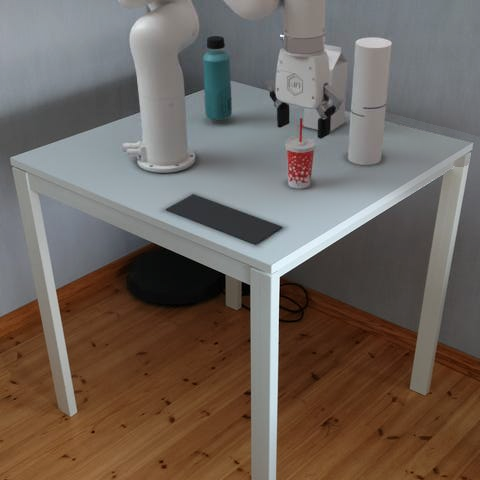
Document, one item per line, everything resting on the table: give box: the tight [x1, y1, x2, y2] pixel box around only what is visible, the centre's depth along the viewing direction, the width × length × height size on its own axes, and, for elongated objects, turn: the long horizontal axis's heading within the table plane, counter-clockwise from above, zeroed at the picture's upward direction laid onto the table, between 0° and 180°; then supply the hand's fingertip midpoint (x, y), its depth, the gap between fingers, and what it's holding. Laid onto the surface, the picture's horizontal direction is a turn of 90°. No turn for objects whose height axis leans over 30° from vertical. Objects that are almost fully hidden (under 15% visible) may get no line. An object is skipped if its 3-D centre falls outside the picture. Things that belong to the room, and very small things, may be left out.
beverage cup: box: [284, 117, 317, 190], centre depth 159 cm, size 6×6×14 cm
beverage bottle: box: [202, 35, 233, 121], centre depth 186 cm, size 6×7×20 cm
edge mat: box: [165, 193, 283, 246], centre depth 150 cm, size 22×8×1 cm, turn 51°
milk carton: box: [302, 43, 349, 133], centre depth 183 cm, size 7×7×19 cm
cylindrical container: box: [347, 37, 393, 166], centre depth 166 cm, size 7×7×25 cm
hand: (303, 130), depth 156 cm, fingers open, 9 cm apart
